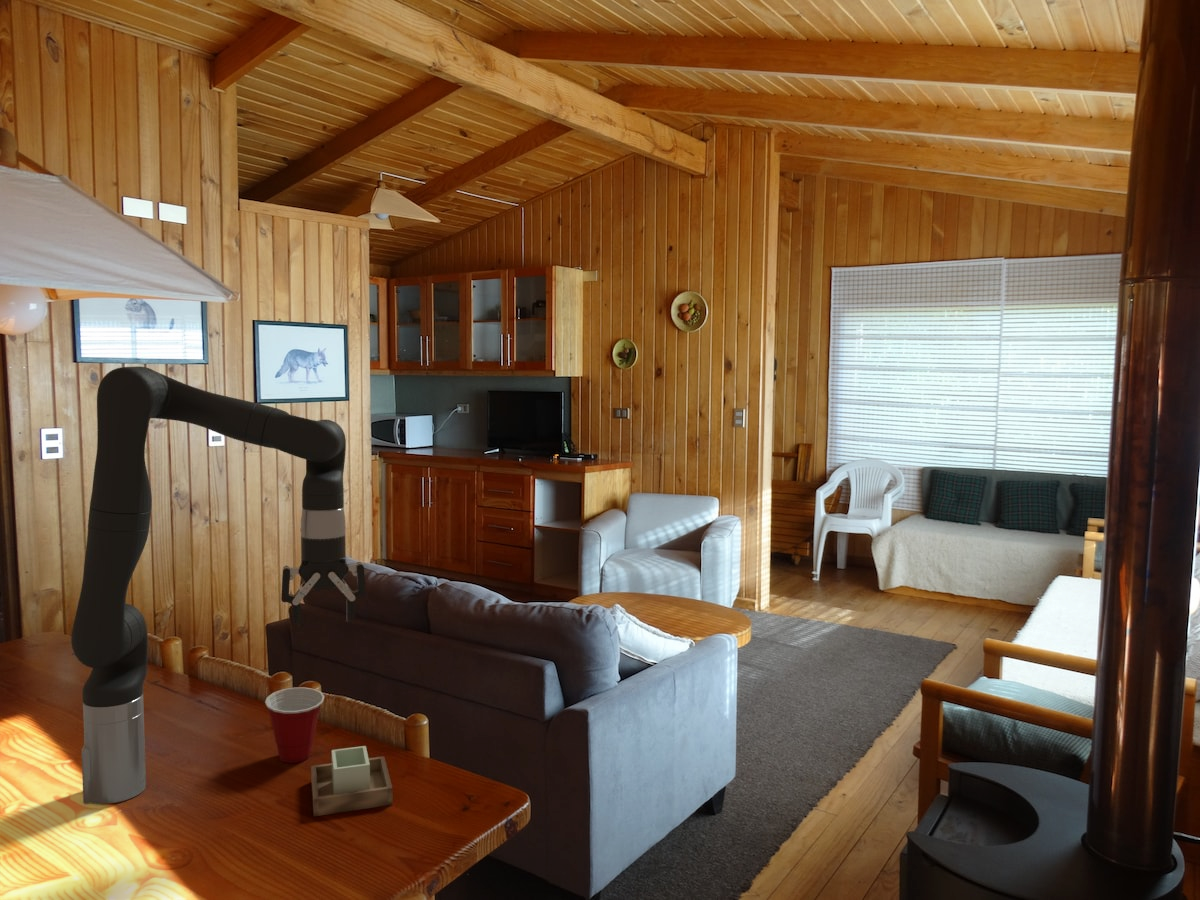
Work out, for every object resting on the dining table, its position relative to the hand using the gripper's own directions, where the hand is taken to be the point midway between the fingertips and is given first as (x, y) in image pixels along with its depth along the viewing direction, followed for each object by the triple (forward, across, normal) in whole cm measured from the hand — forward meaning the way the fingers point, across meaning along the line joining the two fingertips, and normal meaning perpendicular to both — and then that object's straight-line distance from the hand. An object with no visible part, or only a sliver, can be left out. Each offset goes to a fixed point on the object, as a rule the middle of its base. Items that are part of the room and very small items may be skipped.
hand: (324, 622), depth 155 cm
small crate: (+29, +4, -5) cm, 30 cm away
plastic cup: (+30, -5, +13) cm, 33 cm away
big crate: (+30, +4, -5) cm, 31 cm away
